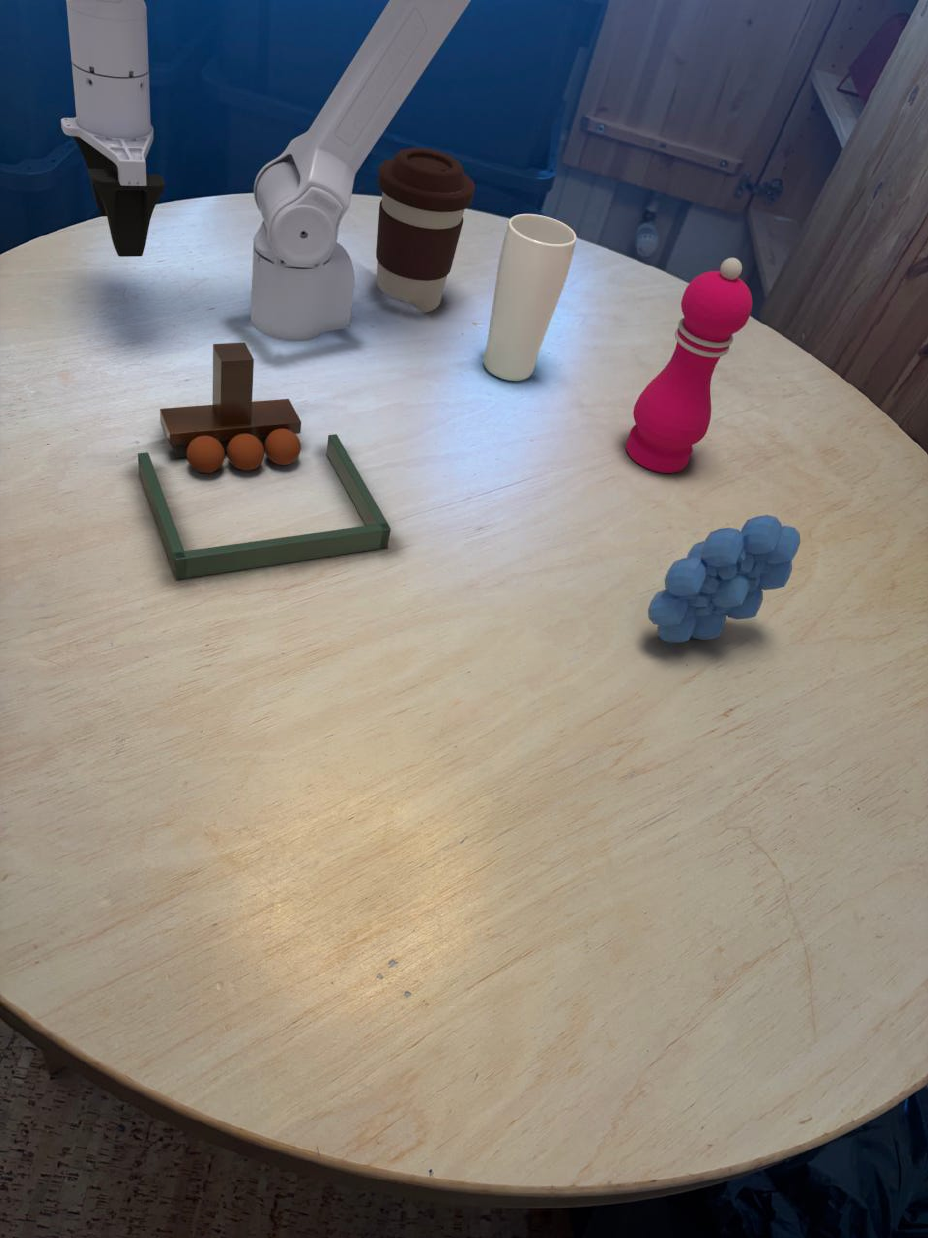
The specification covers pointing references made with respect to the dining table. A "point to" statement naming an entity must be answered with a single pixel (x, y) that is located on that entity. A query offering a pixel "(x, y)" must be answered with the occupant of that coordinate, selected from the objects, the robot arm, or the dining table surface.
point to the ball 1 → (205, 454)
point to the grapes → (723, 579)
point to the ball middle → (245, 451)
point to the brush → (229, 406)
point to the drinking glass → (526, 292)
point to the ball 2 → (282, 446)
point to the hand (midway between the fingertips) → (120, 234)
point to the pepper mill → (689, 371)
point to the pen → (278, 548)
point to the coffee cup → (419, 224)
